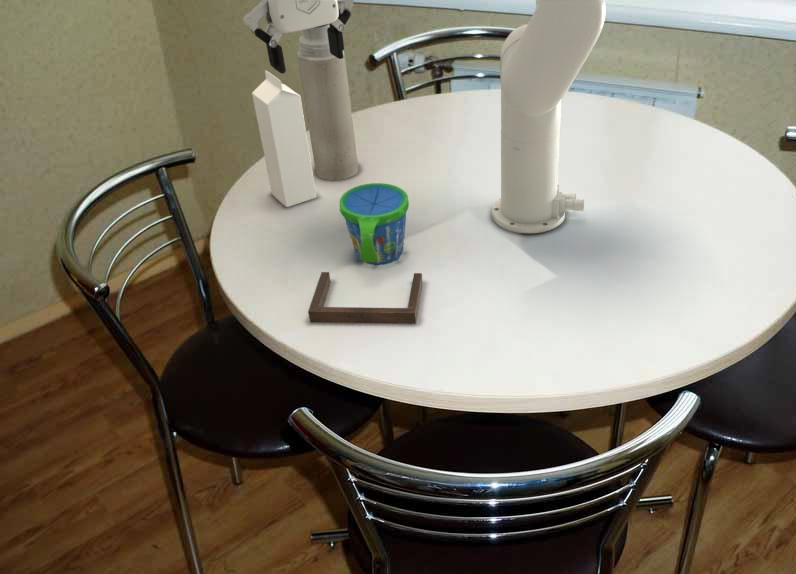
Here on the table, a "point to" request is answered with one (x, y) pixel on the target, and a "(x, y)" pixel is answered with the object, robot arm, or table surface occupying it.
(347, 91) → the thermos bottle
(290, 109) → the milk
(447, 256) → the table surface
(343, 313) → the bay
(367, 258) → the snack cup
